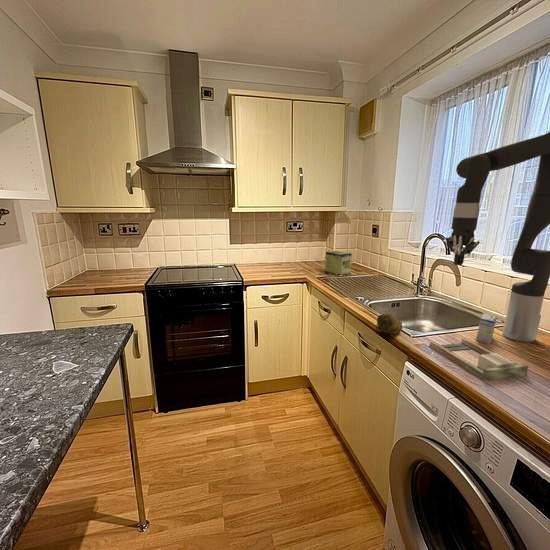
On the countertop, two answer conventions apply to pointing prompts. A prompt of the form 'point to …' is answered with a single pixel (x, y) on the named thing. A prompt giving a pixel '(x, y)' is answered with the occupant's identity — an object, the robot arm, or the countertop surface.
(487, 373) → the shallow green tray
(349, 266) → the protein box
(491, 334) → the medicine box
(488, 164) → the robot arm
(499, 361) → the cream block
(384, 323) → the potato
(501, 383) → the countertop surface
